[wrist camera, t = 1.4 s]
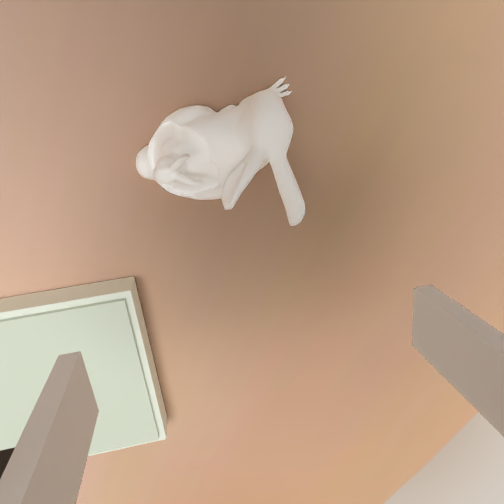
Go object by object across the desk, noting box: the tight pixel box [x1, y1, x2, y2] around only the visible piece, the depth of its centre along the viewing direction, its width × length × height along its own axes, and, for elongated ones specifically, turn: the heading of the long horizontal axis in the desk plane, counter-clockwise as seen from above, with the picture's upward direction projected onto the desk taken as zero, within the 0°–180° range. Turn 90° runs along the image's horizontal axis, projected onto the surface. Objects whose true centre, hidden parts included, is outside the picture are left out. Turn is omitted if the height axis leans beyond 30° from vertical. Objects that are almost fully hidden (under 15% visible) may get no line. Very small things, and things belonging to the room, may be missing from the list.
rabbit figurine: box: [136, 77, 305, 226], centre depth 25 cm, size 12×8×10 cm, turn 106°
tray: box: [0, 276, 167, 456], centre depth 31 cm, size 14×16×3 cm
